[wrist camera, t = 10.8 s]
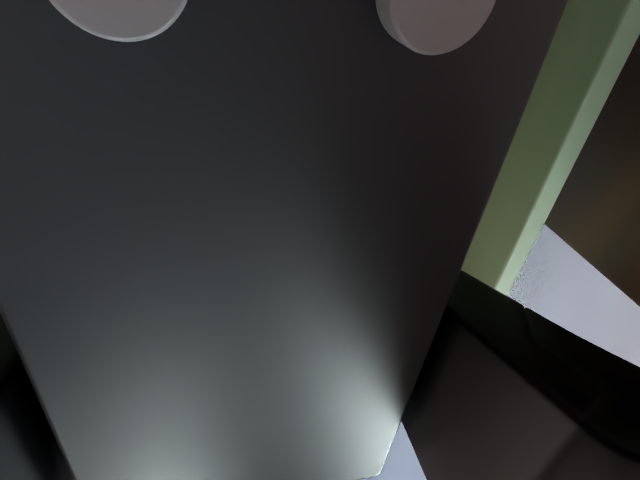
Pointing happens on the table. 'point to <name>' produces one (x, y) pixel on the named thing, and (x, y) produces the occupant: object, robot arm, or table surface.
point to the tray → (552, 133)
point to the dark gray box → (245, 218)
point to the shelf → (608, 187)
